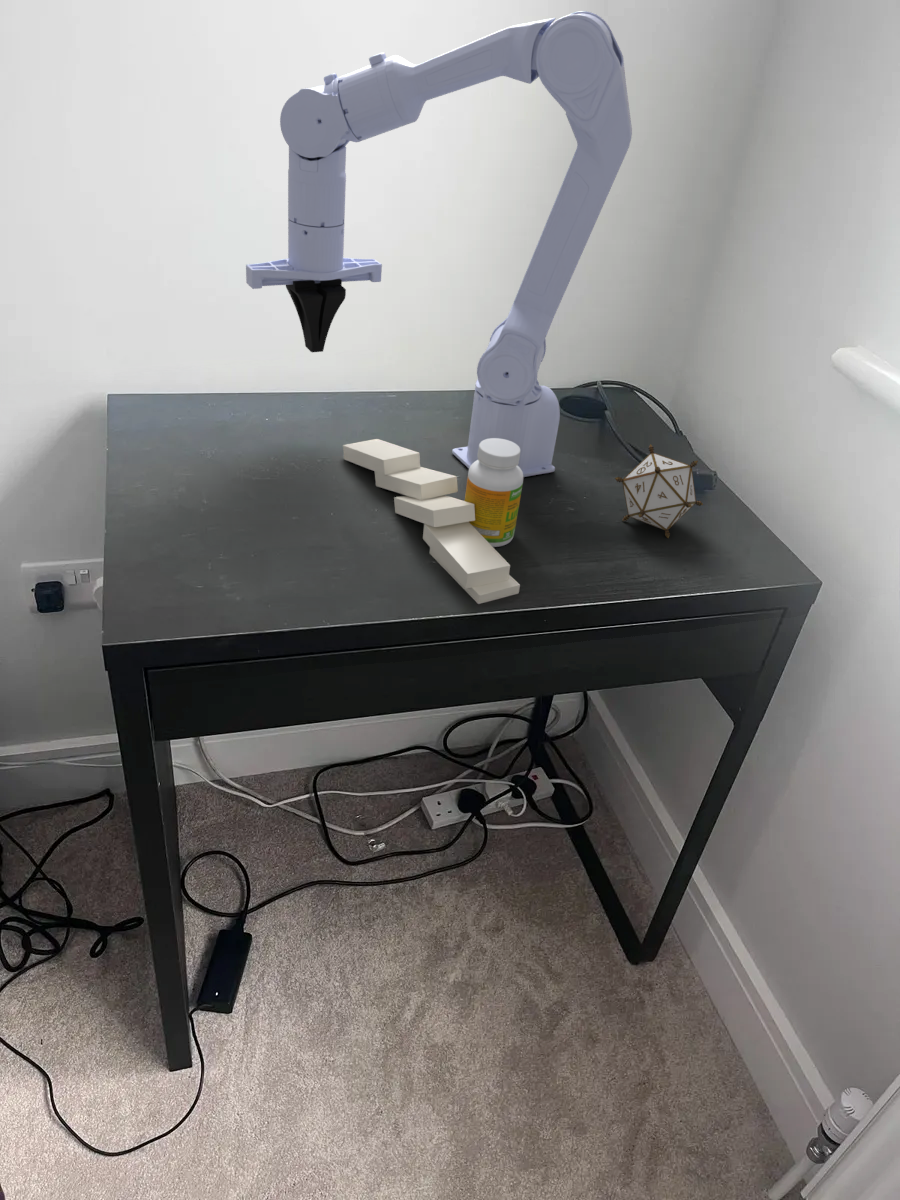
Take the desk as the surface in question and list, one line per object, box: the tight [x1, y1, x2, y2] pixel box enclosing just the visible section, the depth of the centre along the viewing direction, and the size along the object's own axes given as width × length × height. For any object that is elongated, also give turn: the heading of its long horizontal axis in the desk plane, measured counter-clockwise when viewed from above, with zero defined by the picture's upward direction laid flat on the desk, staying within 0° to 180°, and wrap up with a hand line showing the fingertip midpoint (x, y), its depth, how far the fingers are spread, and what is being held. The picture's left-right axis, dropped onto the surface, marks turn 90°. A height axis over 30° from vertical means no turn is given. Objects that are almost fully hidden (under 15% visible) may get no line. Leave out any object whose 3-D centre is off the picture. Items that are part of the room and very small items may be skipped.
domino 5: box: [429, 547, 521, 605], centre depth 86 cm, size 4×2×9 cm
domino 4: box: [422, 522, 511, 589], centre depth 86 cm, size 4×2×9 cm
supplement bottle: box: [464, 438, 524, 548], centre depth 89 cm, size 5×5×10 cm
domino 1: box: [342, 438, 421, 475], centre depth 100 cm, size 4×2×9 cm
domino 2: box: [374, 466, 459, 500], centre depth 95 cm, size 4×2×9 cm
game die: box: [614, 443, 704, 539], centre depth 95 cm, size 9×8×10 cm
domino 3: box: [393, 494, 475, 527], centre depth 91 cm, size 4×2×9 cm
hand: (314, 348), depth 102 cm, fingers closed
